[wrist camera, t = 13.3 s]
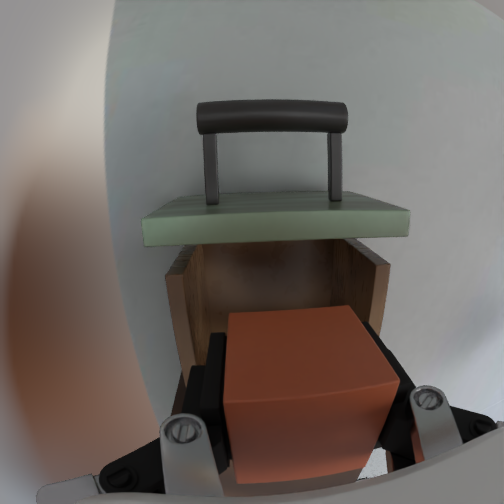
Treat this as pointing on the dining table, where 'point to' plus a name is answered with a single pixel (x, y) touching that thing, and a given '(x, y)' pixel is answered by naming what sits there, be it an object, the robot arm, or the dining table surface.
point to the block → (303, 393)
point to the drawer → (270, 234)
